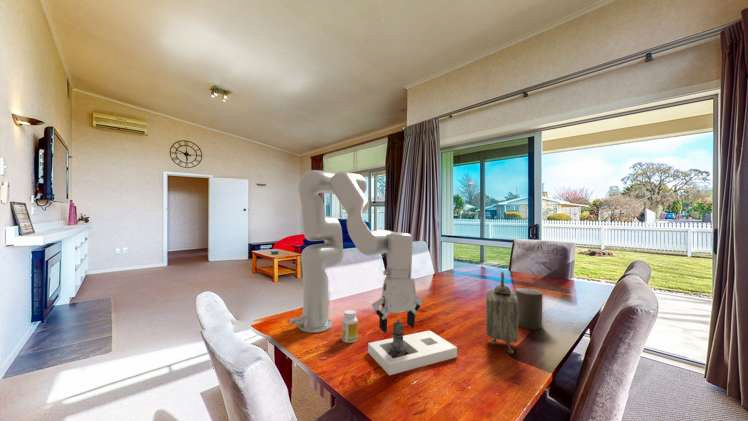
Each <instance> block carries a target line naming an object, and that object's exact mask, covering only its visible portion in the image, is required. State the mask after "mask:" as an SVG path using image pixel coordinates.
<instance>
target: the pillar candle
mask: <svg viewBox="0 0 748 421" xmlns="http://www.w3.org/2000/svg"><path fill="white" fill-rule="evenodd" d="M515 294H516V296H517V300H518V327H520V328H523V329H527V330H534V331H537V330H541V329H542V328H543V292H542V291H541V290H538V289H533V288H529V287H527V288H525V287H520V288H519V287H517V288H515Z"/></svg>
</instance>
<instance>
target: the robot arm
mask: <svg viewBox="0 0 748 421" xmlns="http://www.w3.org/2000/svg"><path fill="white" fill-rule="evenodd" d="M367 184H368V183H367V181H366V179H365V177H364V176H362V175H361V174H359V173H354V172H347V171H340V172H331V171H325V170H319V169H318V170H317V169H315V170H314V169H312V170H308V171H306V172H304V173H303V175H301V177H300V179H299V182H298V192H299V193H298V194H299V199H300V202H301V211H302V213H301V214H302V228H303V236H304V237H305V239H306V240H307V241H310V242H318V241H320V242H321V241H323V243H317V244H316V243H315V244H311V245H308V246H306V247H305V248H304V249H302V252H301V254H300V261H301V268H302V275H303V276H302V278H303V280H302V281H303V283H302V284H303V285H302V287H303V289H302V290H303V291H302V296H303V297H302V299H303V300H302V313H301V314H300V316H298V317H294V318H290V319H289V324H290V325H294V326H298V329H299V330H300V331H302V332H304V333H309V334H312V333H322V332H325V331H328V330H329V329H331V328H332V326H333V321H332V320H331V319H329V277H328V275H327V272H326V271H325V269H326V268H330V267H331V268H332V267H335V266H338V265H340V263H342V261H343V258H344V246H343V245H344V244H343V231H342V230H343V229H342V226H341V223H340V221H339V220H338V218H336V217H335V216H331V215H330V216H326V213H325V204H324V202H323V200H322V198H321V196H320V195H319V194H330V195H335V196H336V198H337V200H338V201H339V203H340V205H341V206H342V207H343V209H344V211H345V213H346V214H347V218H346V228H347V232H348V236H349V238H350V239H351V241H352V242H353V245H354V247H356V249H357V251H358V252H360V253H361V254H362V255H364V256H376V255H381V254H382V255H383V254H387V259H386V260H387V261H386V270H383V271H382V272H383V276H385V277H384V279H383V283H382V284H383V285H382V290H381V298H379V299H377V300H376V301H375V302H373V303H372V304H371V307H372V309H373V311H374V313H375V314H376V315H377V316H378V317H379V321H378V323H379V324H378V328H379V330H380V331H382V332H383V333H384V334H385V333H387V332H388V319H387V317H388V315H389V314H398V313H405V312H407V314H406V324H407V325H408V326H409V327H411V328H415V323H416V322H415V321H416V315H417V312H418V311H419V309H420V308H421V304H422V302H423V298H421V297H420V296H417V295H416V294H417V292H416V291H417V290H416V285H415V284H416V282H415V278H414V277H413V276H412V271H413V270H412V269H413V268H412V264H413V263H412V262H413V240H414V239H413V236H412V234H410V233H406V232H395V231H392V230H388V229H382V230H381V229H380V230H371V229H370V228H369V227H368V225H367V224H366V222H365V220H364V216H363V214H365V213H366V212H367V210H368V209H369V206H370V201H369V200H368V198H367V196H366V195H365V193H366V190H367ZM380 306H381V308H380ZM379 308H380V309H379Z"/></svg>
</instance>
